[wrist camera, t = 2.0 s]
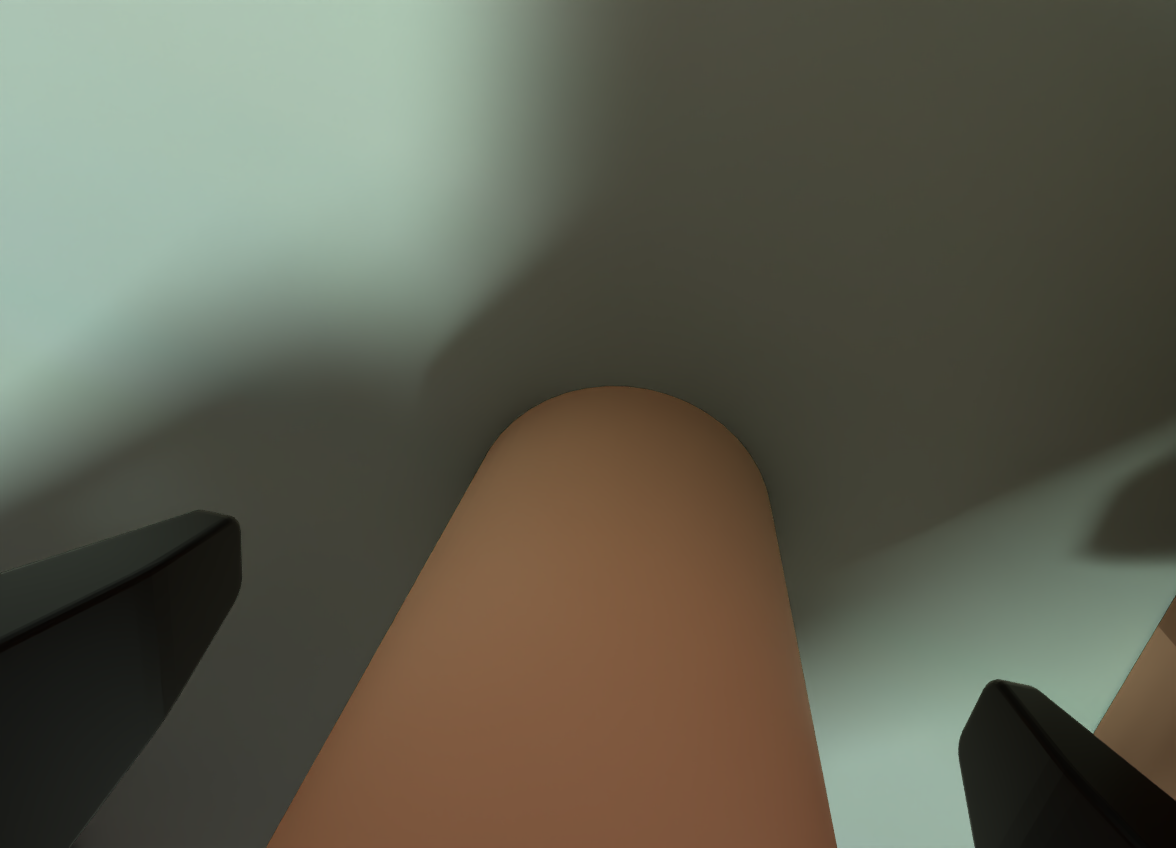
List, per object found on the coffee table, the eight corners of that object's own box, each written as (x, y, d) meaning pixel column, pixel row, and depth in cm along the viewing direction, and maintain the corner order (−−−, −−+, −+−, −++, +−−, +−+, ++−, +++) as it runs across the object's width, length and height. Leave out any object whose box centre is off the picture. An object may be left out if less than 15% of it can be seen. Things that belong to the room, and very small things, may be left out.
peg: (730, 672, 11) (811, 1832, 4) (458, 613, 11) (18, 1609, 4) (809, 421, 9) (1248, 1628, 2) (488, 357, 9) (-187, 1251, 2)
